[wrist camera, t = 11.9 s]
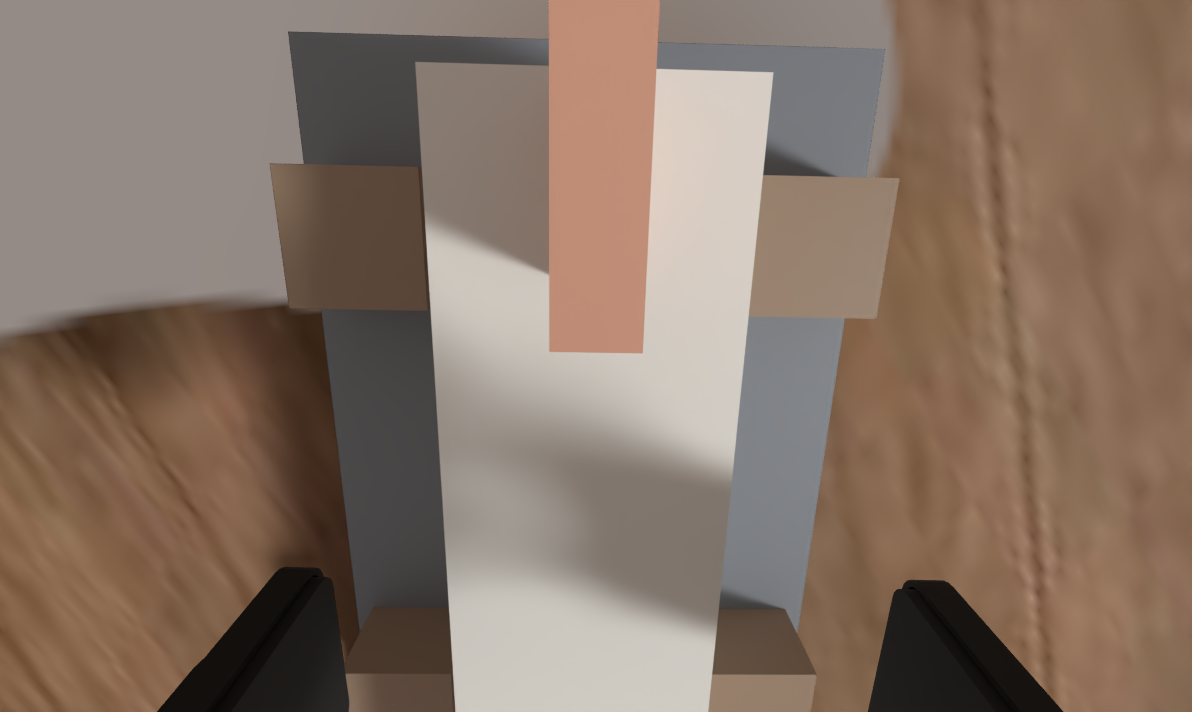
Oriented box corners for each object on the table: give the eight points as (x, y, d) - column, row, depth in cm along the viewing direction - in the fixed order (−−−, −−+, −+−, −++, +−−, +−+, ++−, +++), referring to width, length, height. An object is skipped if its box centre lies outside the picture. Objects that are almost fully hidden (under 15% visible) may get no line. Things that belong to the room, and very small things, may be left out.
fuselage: (488, 118, 13) (245, -71, 4) (693, 124, 14) (954, -45, 4) (506, 756, 19) (428, 1320, 10) (651, 756, 19) (716, 1313, 10)
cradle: (312, 44, 14) (219, -6, 10) (861, 60, 14) (952, 17, 11) (385, 721, 20) (343, 833, 17) (768, 721, 20) (806, 831, 17)
